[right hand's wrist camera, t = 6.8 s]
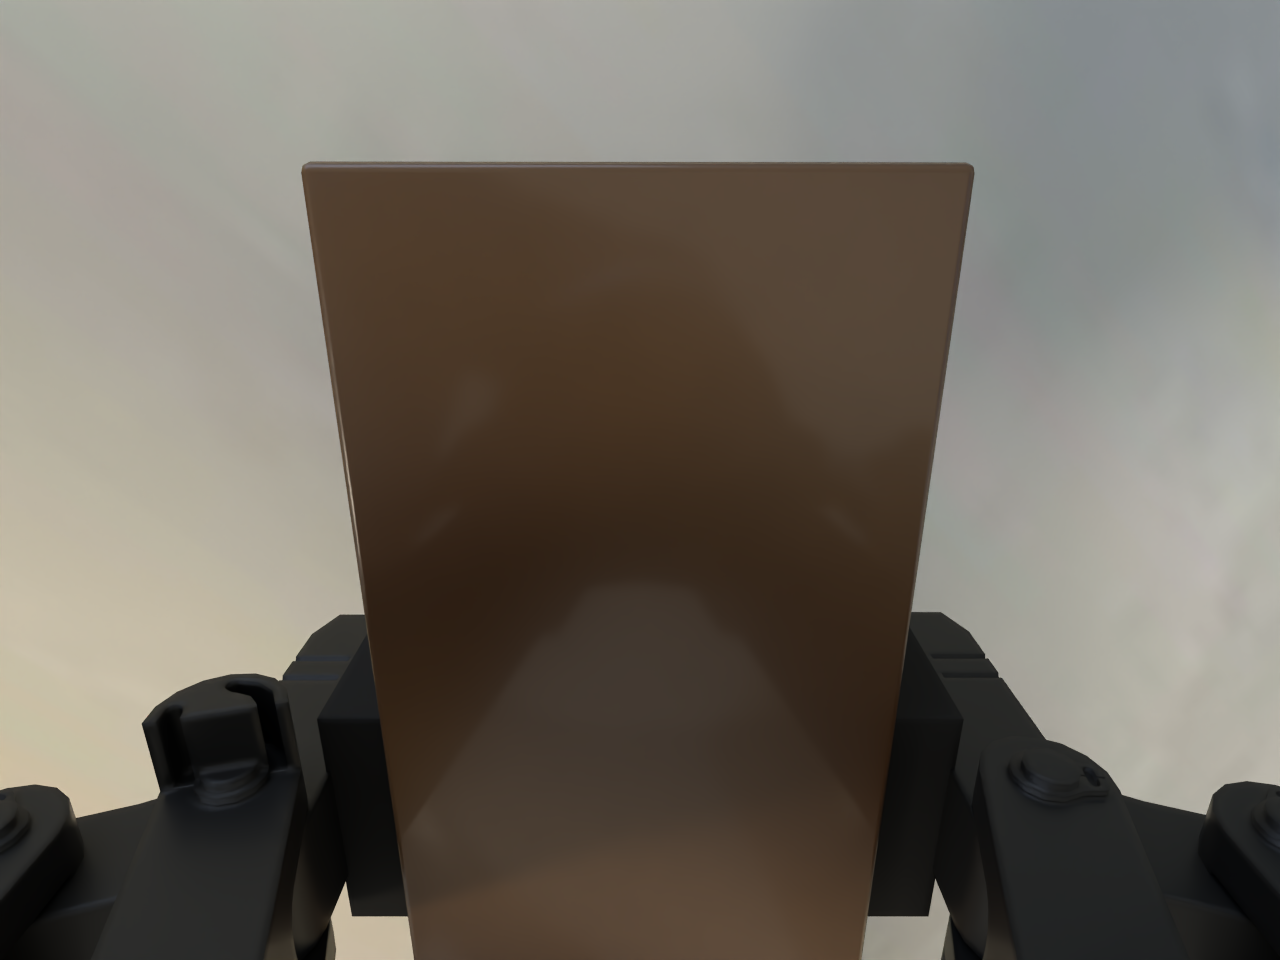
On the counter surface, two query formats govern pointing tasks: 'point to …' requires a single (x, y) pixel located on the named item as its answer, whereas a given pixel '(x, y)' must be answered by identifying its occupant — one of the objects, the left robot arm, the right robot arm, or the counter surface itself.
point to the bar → (637, 533)
